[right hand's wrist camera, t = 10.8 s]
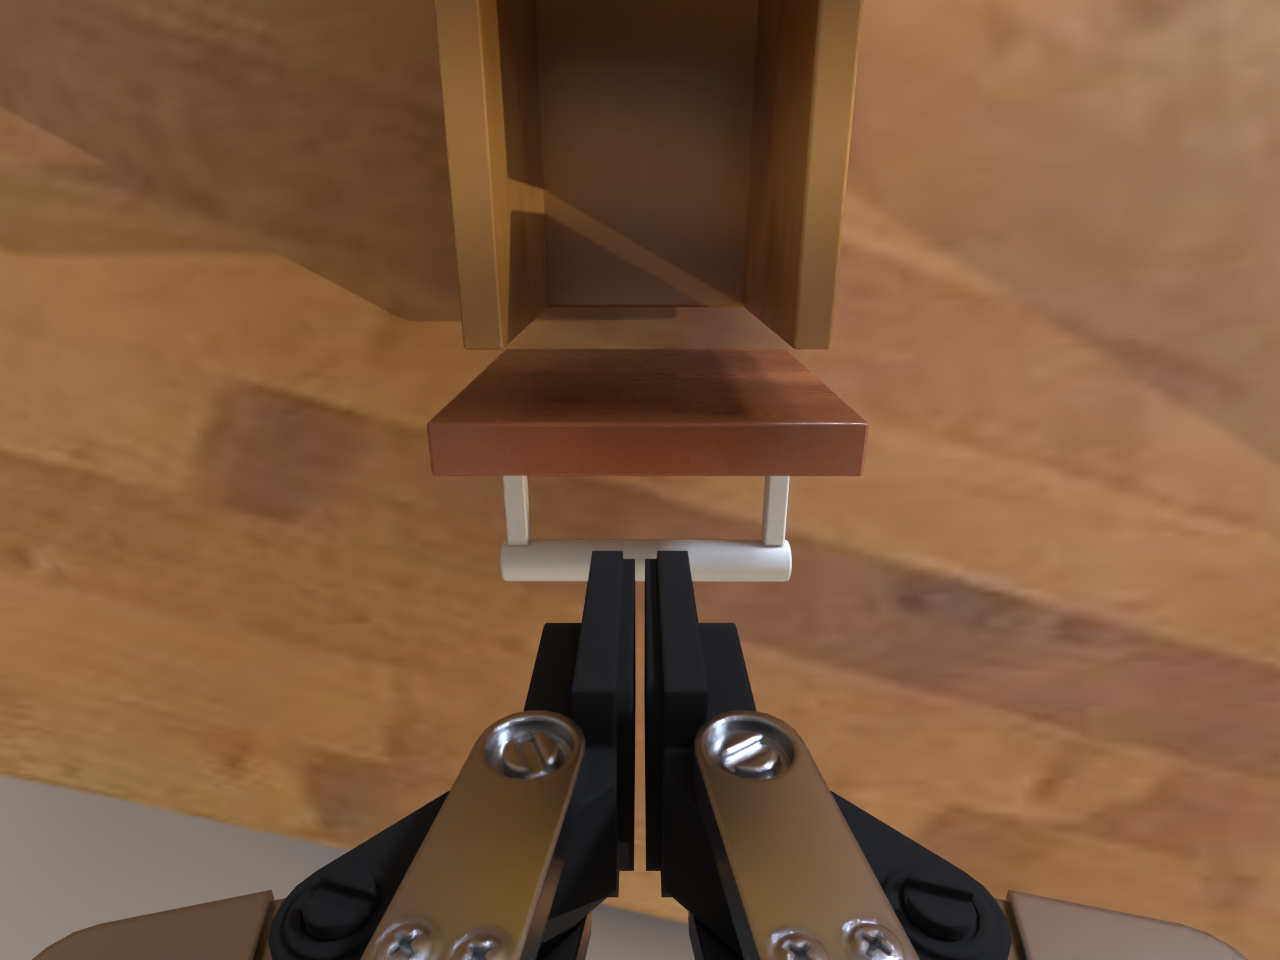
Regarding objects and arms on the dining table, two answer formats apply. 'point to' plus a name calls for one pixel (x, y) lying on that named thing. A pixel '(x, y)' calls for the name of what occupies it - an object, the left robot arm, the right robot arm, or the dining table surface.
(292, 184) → the dining table surface
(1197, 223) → the dining table surface
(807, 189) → the drawer
